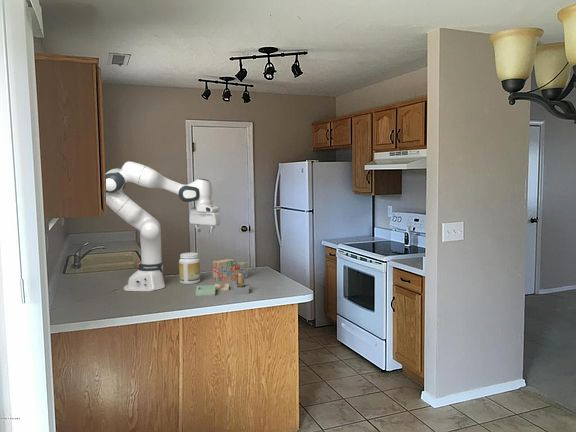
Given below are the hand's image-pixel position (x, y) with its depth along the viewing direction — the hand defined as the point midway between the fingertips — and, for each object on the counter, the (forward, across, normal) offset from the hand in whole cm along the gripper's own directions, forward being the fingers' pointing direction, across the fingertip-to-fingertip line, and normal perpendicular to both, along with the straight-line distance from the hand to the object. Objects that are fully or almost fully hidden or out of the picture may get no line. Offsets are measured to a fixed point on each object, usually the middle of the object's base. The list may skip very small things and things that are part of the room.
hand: (204, 232), depth 273 cm
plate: (+32, +9, +3) cm, 33 cm away
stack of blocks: (+32, -2, +23) cm, 39 cm away
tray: (+31, +8, -9) cm, 34 cm away
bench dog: (+31, +16, +9) cm, 37 cm away
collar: (+32, +22, +4) cm, 39 cm away
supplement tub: (+32, -18, +5) cm, 36 cm away
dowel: (+32, +22, +4) cm, 39 cm away
